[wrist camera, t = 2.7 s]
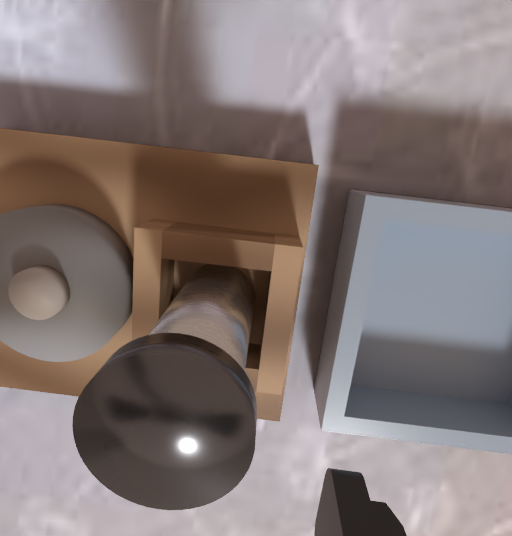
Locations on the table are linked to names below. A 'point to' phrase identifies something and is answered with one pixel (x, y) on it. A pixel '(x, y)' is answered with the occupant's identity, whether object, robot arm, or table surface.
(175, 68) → the table surface
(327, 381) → the tray
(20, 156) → the block
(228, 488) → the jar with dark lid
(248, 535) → the table surface
